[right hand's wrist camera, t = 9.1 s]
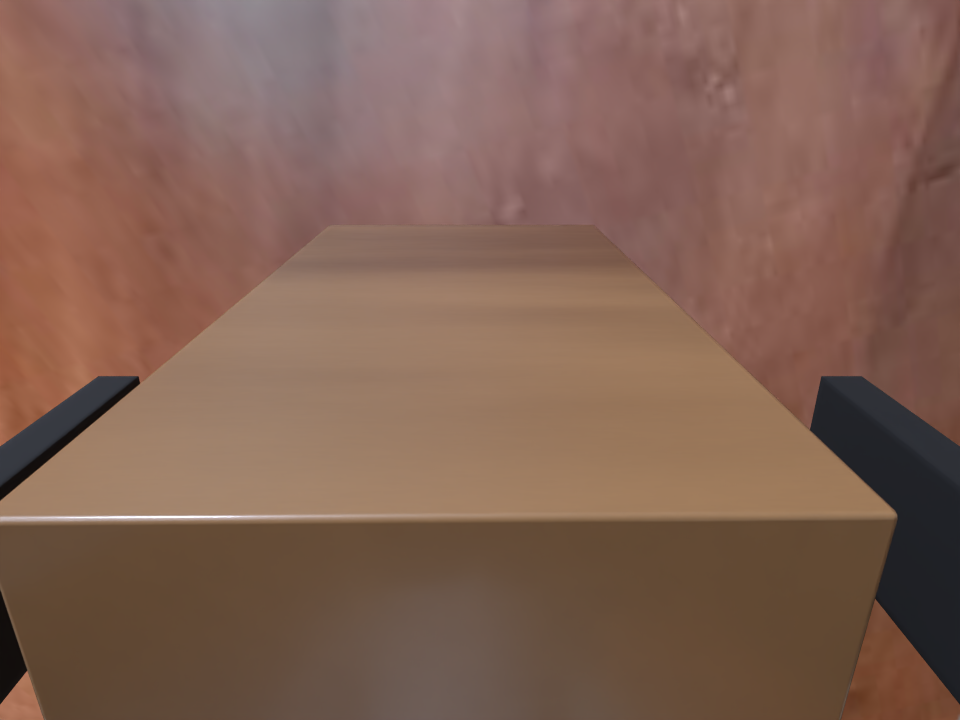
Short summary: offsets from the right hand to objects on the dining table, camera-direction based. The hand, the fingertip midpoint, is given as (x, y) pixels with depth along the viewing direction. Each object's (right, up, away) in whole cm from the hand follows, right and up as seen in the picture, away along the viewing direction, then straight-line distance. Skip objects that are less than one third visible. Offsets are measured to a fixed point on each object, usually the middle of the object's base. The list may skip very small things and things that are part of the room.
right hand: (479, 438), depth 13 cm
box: (0, -7, +8) cm, 10 cm away
